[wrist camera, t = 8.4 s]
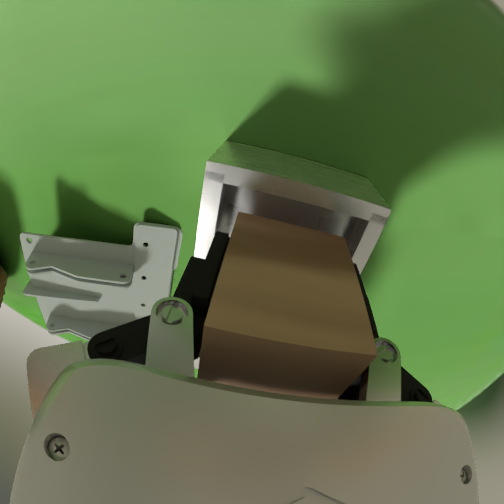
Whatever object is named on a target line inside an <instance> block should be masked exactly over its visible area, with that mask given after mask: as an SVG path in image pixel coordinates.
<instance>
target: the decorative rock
mask: <svg viewBox="0 0 504 504" xmlns="http://www.w3.org/2000/svg"><path fill="white" fill-rule="evenodd" d="M7 278H8V276H7V273H6V271H5V270H4V269H3V268H2V267H1V266H0V307H1V303H2V301H3V295H4V294H5V286H6V283H7Z"/></svg>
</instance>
